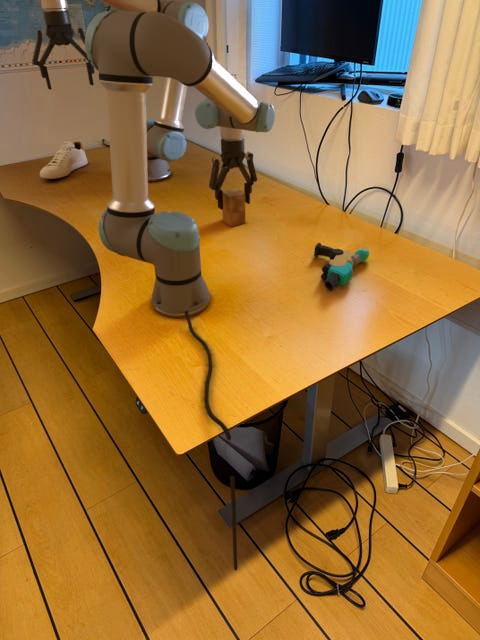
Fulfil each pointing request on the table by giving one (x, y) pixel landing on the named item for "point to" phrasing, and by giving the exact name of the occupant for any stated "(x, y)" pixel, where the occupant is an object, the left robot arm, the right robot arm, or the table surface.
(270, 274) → the table surface
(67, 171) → the sneaker
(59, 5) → the left robot arm
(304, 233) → the table surface
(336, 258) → the toy gun
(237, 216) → the brick
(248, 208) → the table surface
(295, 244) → the table surface
